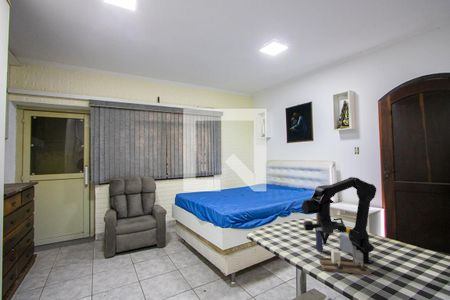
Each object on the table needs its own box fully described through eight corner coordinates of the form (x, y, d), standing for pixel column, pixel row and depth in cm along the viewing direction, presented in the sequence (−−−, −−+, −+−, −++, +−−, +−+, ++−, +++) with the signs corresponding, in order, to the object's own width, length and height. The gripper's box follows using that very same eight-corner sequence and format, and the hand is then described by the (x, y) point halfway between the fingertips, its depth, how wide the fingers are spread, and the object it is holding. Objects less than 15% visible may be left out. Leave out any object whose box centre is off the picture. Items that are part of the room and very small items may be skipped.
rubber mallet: (316, 255, 116) (315, 199, 116) (306, 250, 123) (305, 197, 123) (332, 250, 121) (331, 197, 122) (321, 245, 128) (320, 195, 129)
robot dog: (336, 235, 144) (335, 215, 144) (364, 245, 128) (364, 223, 128) (330, 237, 141) (330, 216, 141) (359, 247, 125) (358, 224, 125)
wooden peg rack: (319, 261, 110) (318, 247, 110) (362, 264, 107) (361, 249, 107) (324, 270, 101) (323, 255, 102) (371, 274, 98) (370, 258, 98)
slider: (331, 260, 108) (331, 248, 108) (337, 260, 108) (337, 248, 108) (335, 267, 102) (335, 254, 102) (342, 268, 101) (342, 255, 101)
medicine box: (358, 253, 119) (357, 237, 119) (353, 254, 117) (352, 238, 117) (344, 247, 126) (344, 232, 126) (339, 249, 124) (339, 233, 124)
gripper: (306, 216, 101) (307, 250, 101) (350, 217, 97) (351, 252, 97) (302, 210, 112) (303, 240, 111) (342, 211, 108) (342, 242, 108)
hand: (324, 243), depth 107 cm, fingers closed
